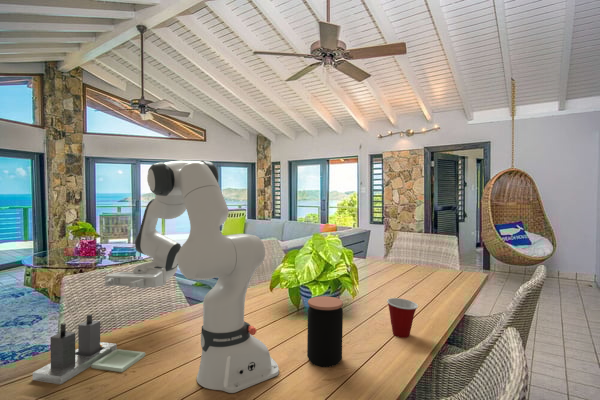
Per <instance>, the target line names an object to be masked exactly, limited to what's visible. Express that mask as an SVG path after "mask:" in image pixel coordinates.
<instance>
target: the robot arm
mask: <svg viewBox="0 0 600 400" xmlns="http://www.w3.org/2000/svg"><path fill="white" fill-rule="evenodd" d="M146 177H147V184H148V187H149V189H150V192H151V193H153V194H154V195H155V197H154V198H153V199H151V200H149V201H148V203H147V204H146V207H145V209H144V212H143V216H142V220H141V225H140V227H139V231H138V234H137V236H136V237H135V241H134V247H135V249H136V252H138V253H140V254H142V255H144V256H148V257H149V258H151V259H152V261H150V262H146V263H142V264H139V265H137V266H135V267H134V269H133V270H132V271H117V272H113V273H108V274H106V275H105V276H104V287H107V288H109V287H112V286H113V287H128V288H131V289H134V288H136V287H137V288H138V289H145V290H146V289H147V288H157V287H164V286H166V284H167V280H169V279H171V278H172V277H173V276H174V275H175V274H176V273H177V271H178V269H179V271H180V273H181V274H182V275H183V277H184V278H186V279H188V280H198V281H200V280H203V281H204V280H205V281H206V280H211V279H216V278H218V279H217V281H216V283H215V284H214V286H213V287H212V288H211V289H210V290H209V291H208V292H207V293H206V294H205V296H204V299H203V302H202V303H203V304H202V307H203V309H202V310H203V311H202V312H203V313H202V321H203V322H202V326H201V332H200V346H201V347H200V348H201V355H200V356H201V357H200V364H199V368H198V371H197V376H196V382H197V383H198V384H199V385H200V386H201V387H203V388H205V389H209V390H215V391H223V392H226V393H229V394H235V393H237V392H239V391H242V390H244V389H247V388H249V387H252V386H254V385H257V384H259V383H262V382H264V381H268V380H269V379H271V378H274V377H277V376H279V374H280V368H279V365H278V363H277V362H276V361H275V359H273V357H271V353H270V351H269V349H268V347H267V345H266V344H265V343H264V342H263V341H261V340H260V339H259V338H256V337H255V336H254V335H256V333H257V328H256V327H255V326H254V325H251V324H250V323H248V322H247V321H245V304H246V303H245V302H246V295H247V292H248V287H249V285H250V282H251V280H252V278H253V276H254V274H255V272H256V271H257V269H259V268H260V266H261V265H262V264H263V262H264V260H265V258H266V257H265V255H266V247H265V245H264V242H263V241H262V239H261V238H260V237H259V236H258V235H254V234H249V233H235V234H234V233H233V234H226V235H224V234H223V233H222V232H221V228H220V227H221V226H222V225H223V224H225V222H226V220H228V216H229V208H228V205H227V202H226V200H225V197H224V195H223V191H222V188H221V187H220V184H219V173H218V169H217V166H215V165H214V163H213V162H211V161H208V160H201V161H199V160H174V161H173V160H172V161H167V162H164V161H161V162H156V163H153V164H151V165H150V167H149V168H148V171H147V176H146ZM185 212H186V213H187V215H188V220H189V225H190V226H189V227H190V229H189V235H188V237H187V239H186V241H185V242H184V243H183V244H181V243H179V242H177V241H175V240H173V239H171V238H169V237H167V236H165V235H164V234H161V233H160V232H159V231H158V230H157V225H158V220H159V219H163V220H172V219H176V218H178V217H181V216H182V215H183V214H184V213H185Z"/></svg>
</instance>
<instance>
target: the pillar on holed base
mask: <svg viewBox="0 0 600 400" xmlns="http://www.w3.org/2000/svg"><path fill="white" fill-rule="evenodd" d="M59 325H60V328H59V329H60V332H59V333H57V334H55V335H51V336H50V363H48V364H46V365H44V366H43V367H41V368H39V369H36V370H35V371H33V372H32V381H37V382H42V383H43V382H44V383H50V384H55V385H62V384H64V383H66V382H68V381H69V380H71V379H72V378H73V377H74V378H75V377H76V376H77V375H79V374H81V373H83V372H84V371H85V370H88V369H89V368H90V367H92V364H93V363H95V362H96V361H98V360H100V359H101V358H103V357H104V356H106V355H108V354H109V353H111V352H113V351H114V350H116V349H118V347H117V345H118V344H117V343H111V342H105V341H104V342H102V341H100V351H99V352H97V353H95V354H93V355H92V356H90V357H89V356H82V355H78V348H76V332H70V331H67V330H66V328H67V327H66V323H65V322H64V323H60V324H59Z"/></svg>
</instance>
